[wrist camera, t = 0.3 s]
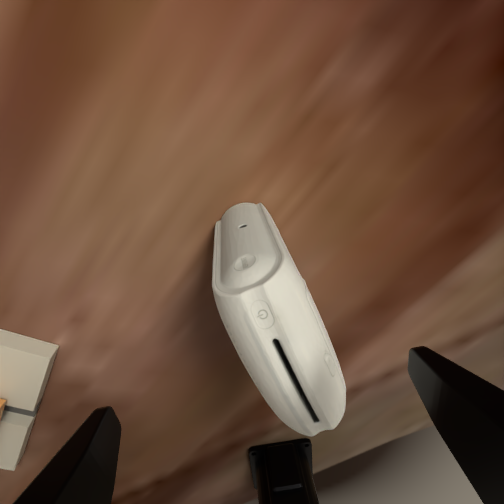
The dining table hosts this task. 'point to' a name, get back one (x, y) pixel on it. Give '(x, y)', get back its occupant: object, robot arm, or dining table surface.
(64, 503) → the robot arm
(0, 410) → the switch knob
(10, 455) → the switch panel
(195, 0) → the dining table surface
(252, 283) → the photo printer
